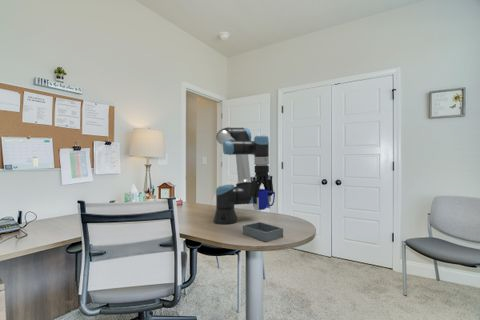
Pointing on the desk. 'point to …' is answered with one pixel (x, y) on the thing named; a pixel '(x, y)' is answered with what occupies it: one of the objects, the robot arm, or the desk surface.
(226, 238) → the desk surface
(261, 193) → the mug
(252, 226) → the tray
